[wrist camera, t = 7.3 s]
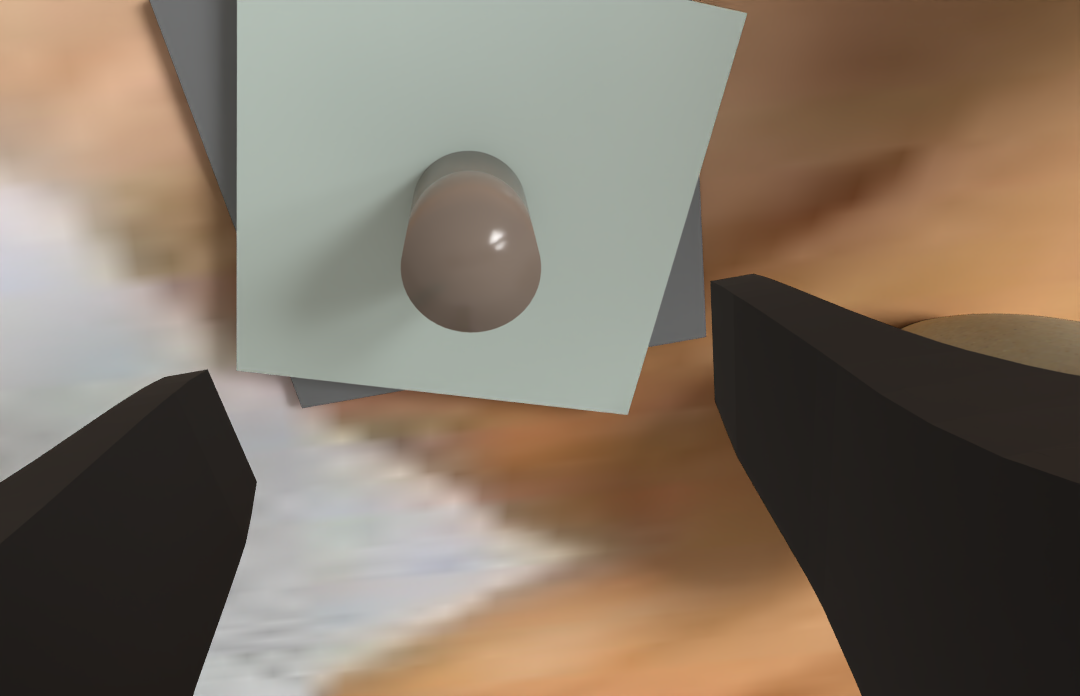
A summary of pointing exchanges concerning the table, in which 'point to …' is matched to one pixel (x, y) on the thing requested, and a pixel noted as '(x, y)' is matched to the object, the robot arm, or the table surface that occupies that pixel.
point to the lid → (468, 188)
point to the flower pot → (1010, 338)
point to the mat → (211, 91)
